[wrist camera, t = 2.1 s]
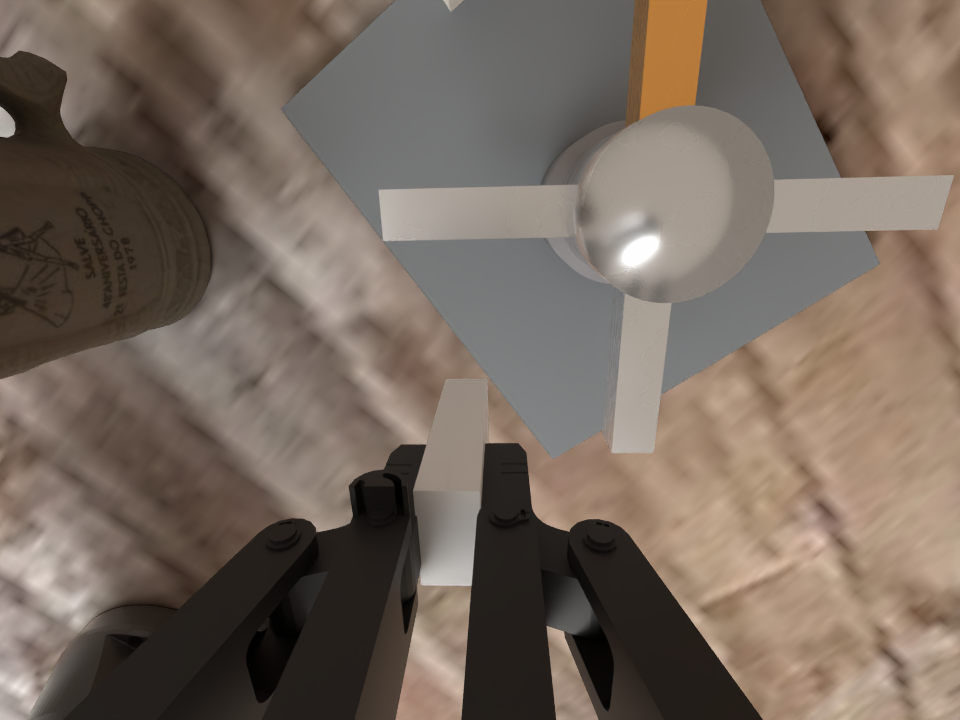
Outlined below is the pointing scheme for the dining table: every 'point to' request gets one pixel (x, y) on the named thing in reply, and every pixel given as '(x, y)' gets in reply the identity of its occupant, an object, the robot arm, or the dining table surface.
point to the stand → (558, 180)
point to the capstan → (663, 209)
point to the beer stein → (84, 233)
